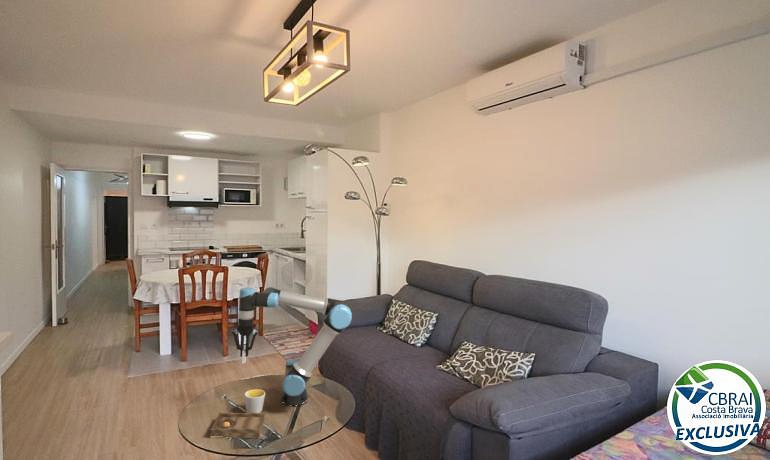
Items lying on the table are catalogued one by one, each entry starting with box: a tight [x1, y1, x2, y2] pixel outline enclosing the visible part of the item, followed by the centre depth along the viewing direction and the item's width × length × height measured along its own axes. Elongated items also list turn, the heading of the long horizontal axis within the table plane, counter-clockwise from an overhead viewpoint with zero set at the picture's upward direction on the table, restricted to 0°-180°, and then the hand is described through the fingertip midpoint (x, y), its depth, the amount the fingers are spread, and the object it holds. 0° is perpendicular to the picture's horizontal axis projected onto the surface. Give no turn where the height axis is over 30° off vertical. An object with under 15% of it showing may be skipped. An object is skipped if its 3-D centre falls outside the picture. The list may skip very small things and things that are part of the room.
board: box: [209, 412, 266, 439], centre depth 203 cm, size 22×16×4 cm
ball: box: [222, 422, 230, 427], centre depth 202 cm, size 4×4×4 cm
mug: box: [244, 389, 266, 413], centre depth 221 cm, size 14×10×10 cm
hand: (243, 362), depth 218 cm, fingers closed
